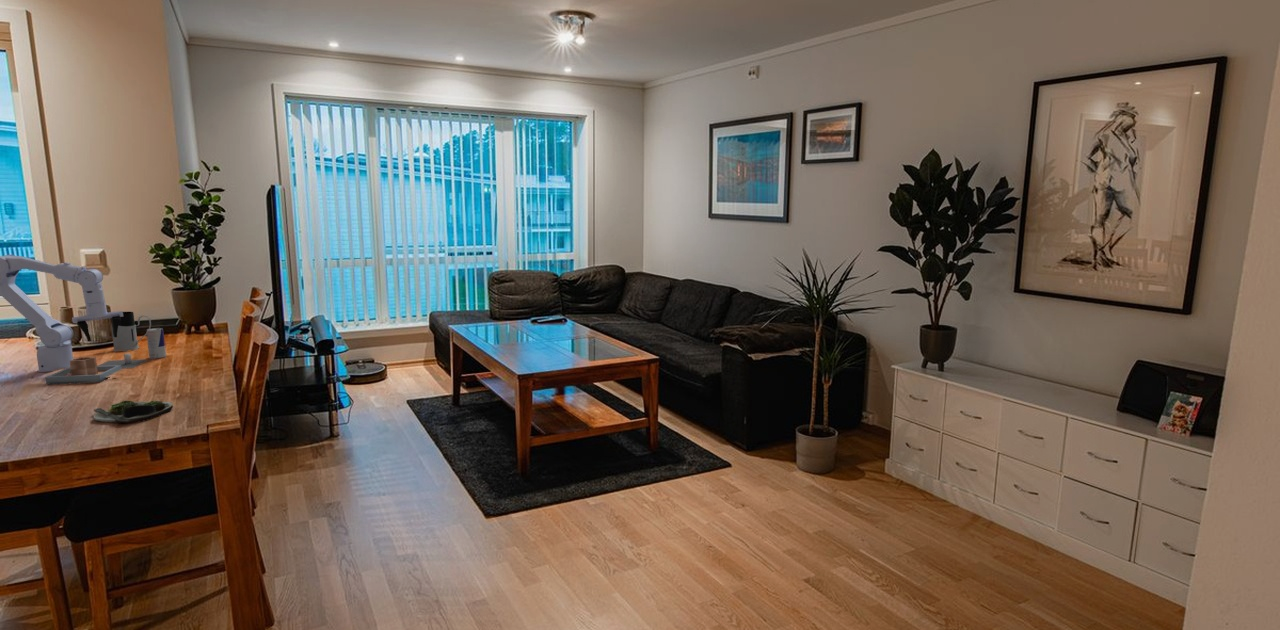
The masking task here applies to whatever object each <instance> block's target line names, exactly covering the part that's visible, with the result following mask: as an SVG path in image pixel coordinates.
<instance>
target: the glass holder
mask: <svg viewBox="0 0 1280 630" xmlns="http://www.w3.org/2000/svg"><path fill="white" fill-rule="evenodd" d="M142 317H146V318H147V319H148V322H149V327H148V329H151V326H152V320H151V318H150V317H149V316H148V315H140V316H139V317H138V319H137V325H136V322H135V314H134V311H123V317H120V318H121V320H120V323H119V326H118V330H117V337H114V336H113V329H112V325H111V324H110V325H111V335H112V342H113V349H112V351H113V352H116V351H123V352H129V351H128V350H132V351H136V350H135V349H137V350H139V349H140V347H139V342H140V341H141V340H142V339H143V338H144V337H147V333H145V334H144V335H143V336H142V337H140V338H139V339H138V336H137V327H138V326H140V322H141V321H140V319H141V318H142ZM138 348H139V349H138Z"/></svg>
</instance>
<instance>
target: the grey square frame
mask: <svg viewBox="0 0 1280 630" xmlns="http://www.w3.org/2000/svg"><path fill="white" fill-rule="evenodd" d="M97 370H98V372H101V373H98V374H96V375H75V376H72V375H68V374H71V367H68V368H63V369H62V370H60V371H57V372H55V373H52V374H50V375H47V376H45V377H44V379H45V385H46V384H49V385H68V384H69V383H73V384H90V383H91V384H92V383H95V382H98V383H103V382H105V381H107V380H109V379H111V378H110V377H111V375H113V374H115V373H118V372H119V371H122V370H123V369H122V367H121V365H113V366H98V365H97ZM108 378H109V379H108ZM104 380H105V381H104ZM69 385H70V384H69Z"/></svg>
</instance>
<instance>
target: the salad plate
mask: <svg viewBox="0 0 1280 630" xmlns="http://www.w3.org/2000/svg"><path fill="white" fill-rule="evenodd" d="M173 408H174V405H173V403H172V402H169V401H167V402H166V401H161V400H160V401H159V400H151V401H132V400H122V401H120V402H116V403H112V402H111V403H110V407H108V408H107V409H106V410H105V409H103V408H102V407H98V408H94V409H93V412H95V413H96V414H94V415H93V418H94V421H98V422H102V423H112V422H116V423H115V424H131V423H130V422H134V423H139V422H138V421H140V422H144V421H143V420H145V421H148V420H147V419H149V420H151V418H152V419H155V418H157V417H159V415H160V416H162V415H165V414H167V413H169V412H170V411H171V410H172V409H173ZM164 413H165V414H164ZM154 417H155V418H154Z"/></svg>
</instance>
